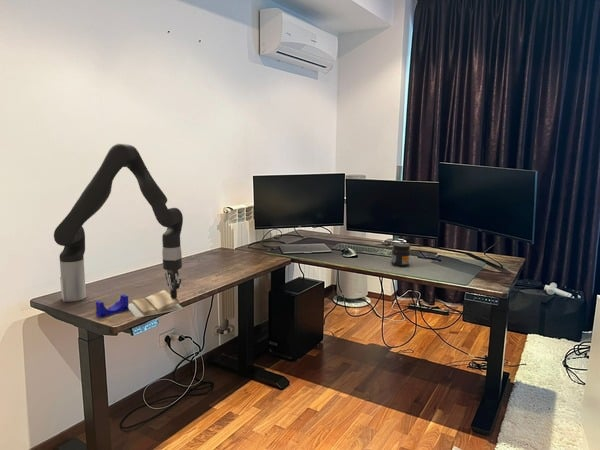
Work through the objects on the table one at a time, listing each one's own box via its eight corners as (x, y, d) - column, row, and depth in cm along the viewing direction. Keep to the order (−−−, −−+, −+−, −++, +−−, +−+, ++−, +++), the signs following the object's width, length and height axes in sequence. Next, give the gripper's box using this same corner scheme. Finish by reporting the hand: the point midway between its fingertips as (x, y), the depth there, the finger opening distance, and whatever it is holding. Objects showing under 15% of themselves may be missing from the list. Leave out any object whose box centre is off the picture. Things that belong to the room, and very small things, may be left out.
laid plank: (143, 315, 183) (143, 311, 183) (132, 303, 196) (132, 300, 196) (156, 313, 186) (156, 309, 186) (144, 301, 199) (144, 297, 199)
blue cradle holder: (122, 307, 193) (121, 293, 192) (128, 309, 190) (127, 295, 189) (94, 315, 184) (93, 300, 183) (100, 318, 181) (99, 303, 180)
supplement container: (413, 266, 265) (414, 246, 263) (398, 268, 261) (399, 247, 259) (402, 262, 275) (403, 242, 273) (387, 263, 271) (388, 243, 269)
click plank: (158, 312, 186) (157, 308, 186) (146, 300, 199) (145, 297, 199) (179, 303, 191) (178, 299, 190) (166, 292, 204) (165, 289, 203)
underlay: (136, 318, 181) (136, 317, 181) (124, 305, 195) (124, 304, 195) (183, 309, 192) (183, 308, 192) (169, 297, 206) (169, 296, 206)
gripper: (157, 255, 193) (159, 295, 196) (168, 261, 182) (170, 304, 185) (175, 252, 197) (176, 291, 200) (187, 259, 187) (188, 300, 190)
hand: (173, 297), depth 193 cm, fingers closed
